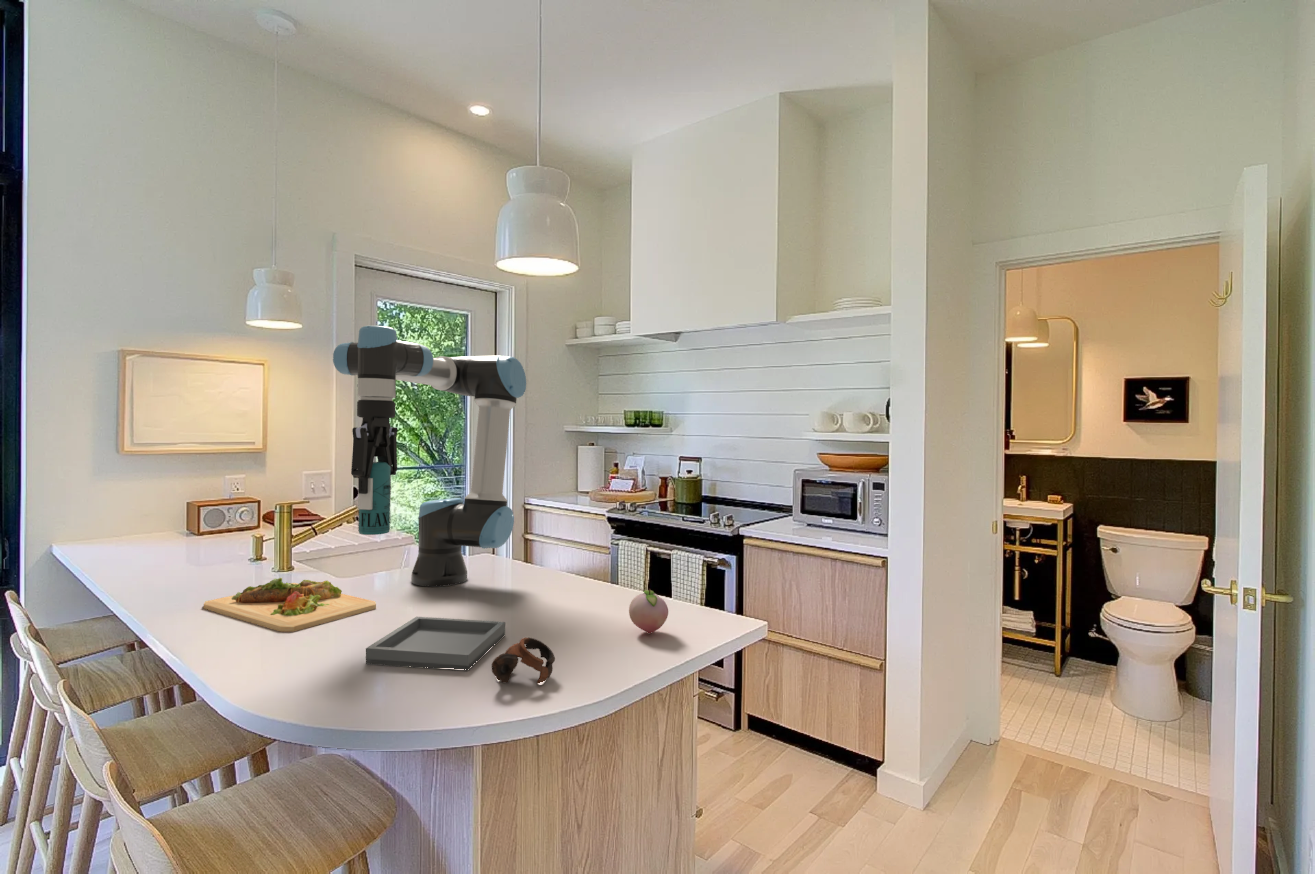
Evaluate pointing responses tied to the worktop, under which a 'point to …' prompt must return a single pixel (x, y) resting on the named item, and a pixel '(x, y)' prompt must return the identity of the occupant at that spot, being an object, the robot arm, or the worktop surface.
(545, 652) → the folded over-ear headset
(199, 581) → the worktop surface
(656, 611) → the decorative fruit
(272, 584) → the cutting board
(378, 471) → the beverage bottle
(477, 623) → the tray
